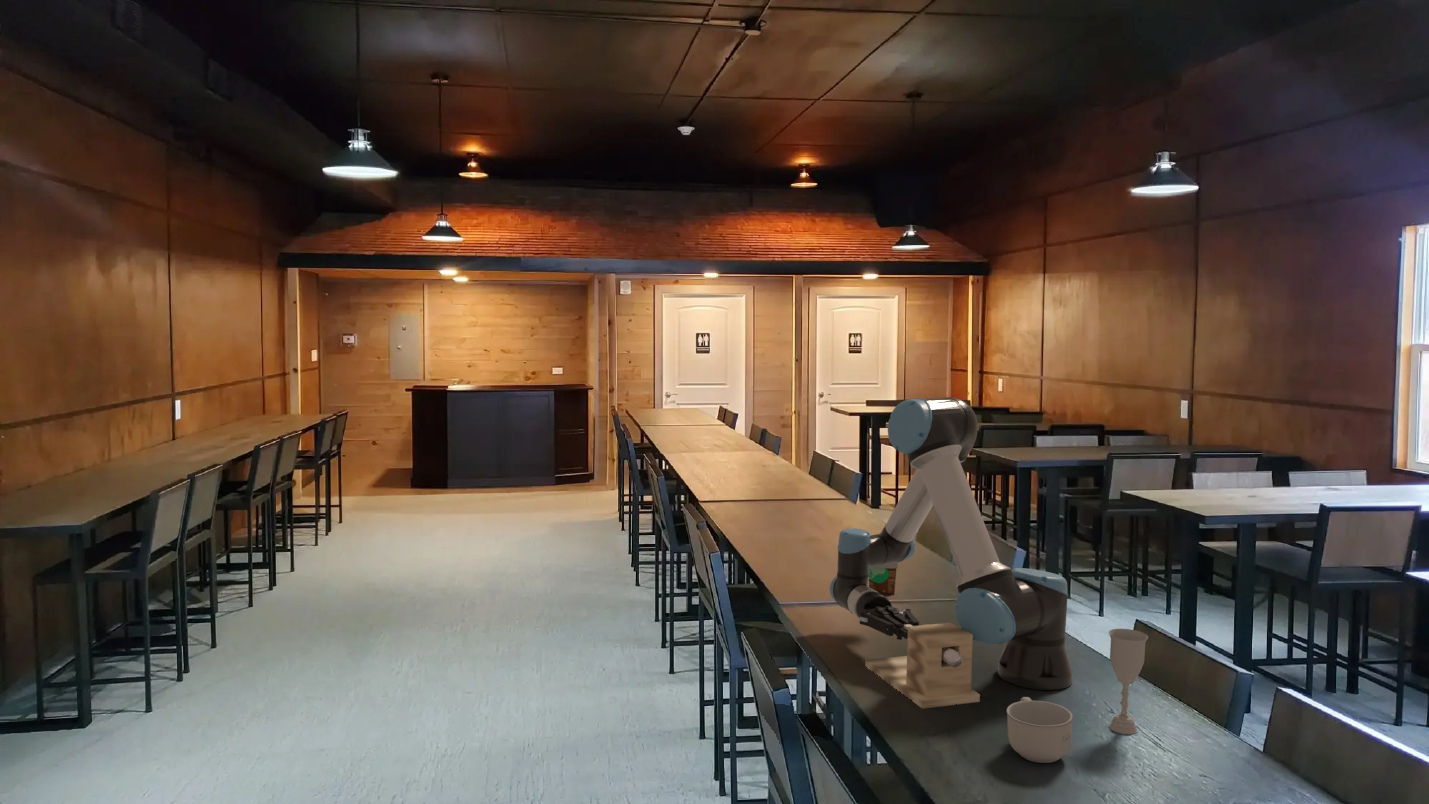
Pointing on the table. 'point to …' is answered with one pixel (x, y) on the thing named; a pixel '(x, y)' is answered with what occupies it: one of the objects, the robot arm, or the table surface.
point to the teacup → (1039, 730)
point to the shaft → (950, 656)
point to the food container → (883, 578)
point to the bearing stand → (931, 667)
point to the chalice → (1126, 671)
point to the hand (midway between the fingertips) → (922, 640)
